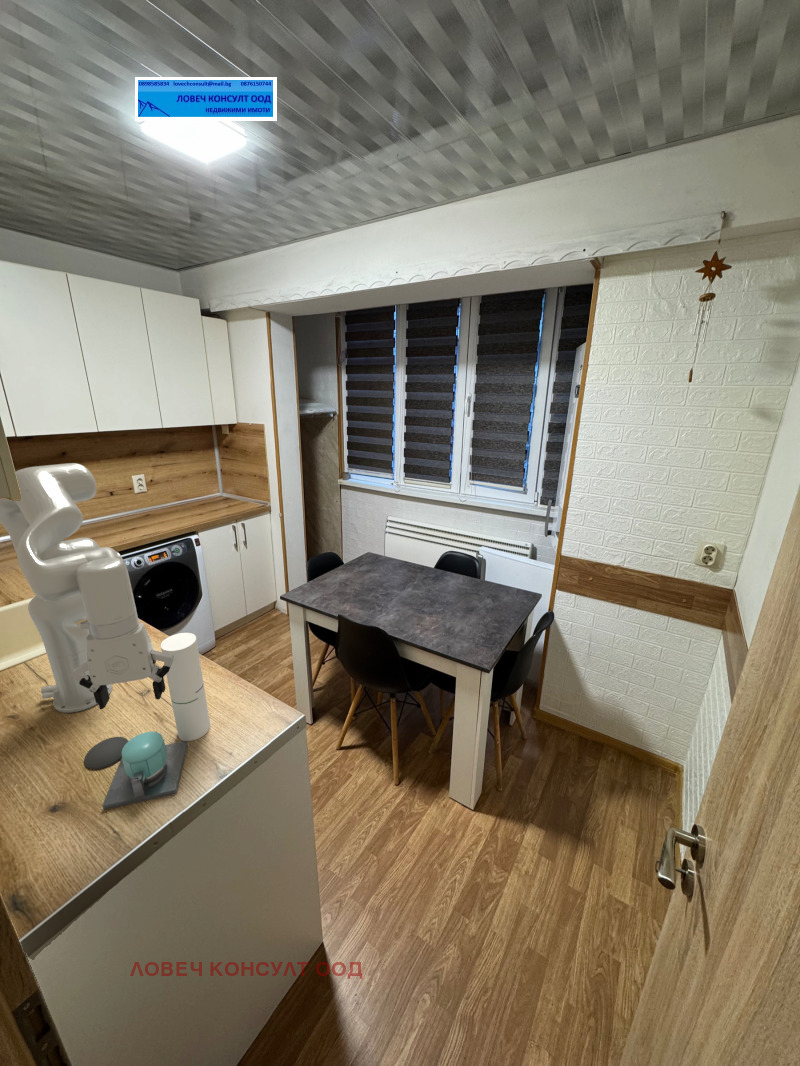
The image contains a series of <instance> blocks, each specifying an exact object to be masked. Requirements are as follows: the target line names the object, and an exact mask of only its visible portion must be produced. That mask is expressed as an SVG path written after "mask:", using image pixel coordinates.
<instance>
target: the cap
mask: <svg viewBox="0 0 800 1066" xmlns="http://www.w3.org/2000/svg"><path fill="white" fill-rule="evenodd" d="M165 745H166V743H165V738H163V735H162V734H161V733H159V732H158V731H157V732H156V731H147V732H142V733H140V734H137V735H136V736H134V737H132V738H130V739H128V742H127V743H126V744H125V746H124V747H123V749H122V761H123V765H124V769H125V773H126V774H127V775H128V776H129V777H131V778H133V776H134V773H136V772H141V771H144V776H143V779H142V780H143V782H144V779H145V778H146V777H150V776H152V775H153V774H154V773H156V772H157V771H158V770H160V769H161V768H162V767H163V766H164V765H165V761H166V758H167V751H166V747H165Z"/></svg>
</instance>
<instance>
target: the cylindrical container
mask: <svg viewBox="0 0 800 1066" xmlns="http://www.w3.org/2000/svg"><path fill="white" fill-rule="evenodd" d="M160 648H161V652H163V653H167V654H172V655H174V656H175V658H174V660H173V663H172V665H171V667H170V670H169V672H168V673H167V674H166V675H165V676H166V679H167V685H168V690H169V694H170V695H169V697H170V700H171V705H172V706H171V707H172V711H173V712H172V713H173V715H174V721H175V727H176V733H177V736H178V738H179V739H180V740H181V741H188V742H192V741H195V740H198V739H200V738H202V737H203V736H205V735H206V734H207V733H208V732H209V730H210V729H211V721H210V716H209V715H210V714H209V708H208V703H207V696H206V689H205V685H204V678H203V671H202V666H201V659H200V652H199V647H198V641H197V636H196V634H194V633H191V632H181V633H175V634H173V635H170V636H168V637H166V638H164V639H163V640H162V642H161V643H160ZM164 664H165V663H164V662H163V665H164Z"/></svg>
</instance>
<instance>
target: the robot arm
mask: <svg viewBox="0 0 800 1066" xmlns="http://www.w3.org/2000/svg"><path fill="white" fill-rule="evenodd" d="M15 472H16V476H17V480H18V484H19V488H20V492H21V497H22V498H21V500H20V501H12V500H9V499H0V525H1V526H2V527H3V528H4V529H5V531H6V532H7V533H8V535H9V537H10V540H11V542H12V545H13V549H14V551H15V553H16V556H17V557H16V558H17V562H18V566H19V569H20V571H21V573H22V575H23V576H24V578H25V579H26V582H27V583H28V586H29V587H30V588H31V590H32V592H33V594H34V595H35V596H34V597H33V598H31V600H30V601H29V603H28V606H27V609H28V614H29V616H30V618H31V620H32V621H33V624H34V625H35V627H36V629H37V631H38V633H39V635H40V638H41V641H42V643H43V646H44V650H45V653H46V655H47V659H48V662H49V665H50V669H51V673H52V676H53V679H54V681H55V684H54V685H47V686H46V685H45V686H41V689H40V693H41V695H42V696H41V698H42V699H43V700H44V699H50V698H53V699H54V700H53V707H54V709H55V710H56V711H58V712H60V713H63V714H64V713H66V714H68V713H69V714H71V713H77V712H82V711H84V710H87V709H90V708H92V707H94V706H96V705H98V707H99V710H103V709H105V708H106V706H107V704H108V703H109V701H110V699H111V698H110V694H111V693H112V691H113V690H112V689H113V685H115V684H121V683H129V682H135V681H140V680H145V679H147V678H149V679H151V680H153V681H152V688H153V694H154V698H155V700H160V699H161V698H162V695H163V693H165V691H166V684H165V680H164V678H165V676H166V674H167V673H168V672H169V670H170V667H171V665H172V663H173V660H174V658H175V656H174V655H172V654H167V653H163V652H162V651H159V650H155V649H154V646H153V643H152V640H151V637H150V635H149V633H148V631H147V628H146V627H145V625H144V623H143V622H140V621H139V617H138V616H139V615H138V612H137V607H136V603H135V597H134V593H133V588H132V584H131V579H130V575H129V570H128V567H127V564H126V563H125V561H124V560H123V557H122V555H121V554H120V553H119V552H118V551H116V550H115V549H114V548H112V547H108V546H103V547H100V545H99V544H98V543H97V542H96V541H95V540H94V539H92V538H89V537H77V538H74V539H73V538H72V539H68V538H69V537H70V536H72V535H74V534H75V533H76V532H77V531H78V530H79V529H80V528H81V526H82V524H83V521H84V515H83V513H82V511H81V510H80V508H79V507H78V505H77V503H82V502H86V501H90V500H91V499H93V498H94V497H95V496H96V494H97V490H98V489H97V488H98V487H97V482H96V479H95V477H94V475H93V473H92V472H91V471H90V470H89V469H88V468H87V467H86V466H85V465H83V464H80V463H77V462H72V463H71V462H69V463H68V462H67V463H59V464H58V463H57V464H48V465H47V464H46V465H39V466H37V465H35V466H30V467H25V468H20V469H18V470H16V471H15ZM66 539H68V540H66ZM78 623H79V624H78ZM157 661H158V662H161V663H163V666H160V665H158V664H156V663H157ZM164 663H165V664H164Z"/></svg>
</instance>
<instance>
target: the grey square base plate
mask: <svg viewBox="0 0 800 1066" xmlns="http://www.w3.org/2000/svg"><path fill="white" fill-rule="evenodd" d="M155 732H158V731H155ZM188 742H189V741H184V740H182V741H179V742H174V743H169V744H165V747H166V751H167V758H166V761H165V765H164V766H163V767H162V768H161V769H160V770H158V771H157V772H156V773H154V774H153V775H152V776H150V777H146V778H145V779H144V782H143V780H142V779H143V776H144V771H141V772H136V773H134V776H133V778H131V777H129V776H128V775H127V774H126V773H125V769H124V765H123V761H122V758H121V760H119V764H118V766H117V768H116V771H115V774H114V777H113V779H112V781H111V783H110V784H109V785H110V786H109V788H108V791H107V793H106V795H105V798H104V801H103V802H102V809H103V810H104V811H105V810H110V809H114V808H118V807H124V806H129V805H132V804H137V803H141V802H146V801H151V800H156V799H160V798H165V797H168V796H174V795H177V794H178V789H179V784H180V781H181V780H180V779H181V776H182V774H183V773H182V772H183V769H184V765H185V759H186V755H187V752H188V747H189V743H188Z"/></svg>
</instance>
